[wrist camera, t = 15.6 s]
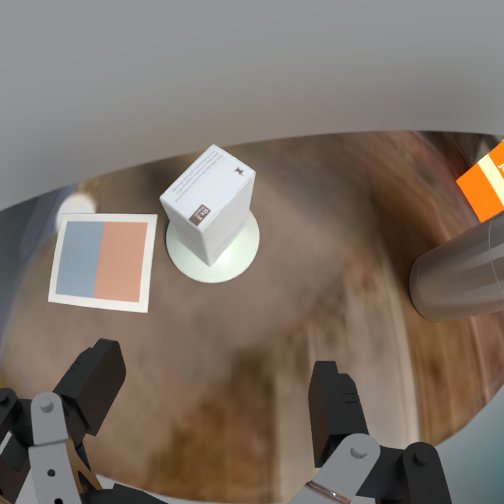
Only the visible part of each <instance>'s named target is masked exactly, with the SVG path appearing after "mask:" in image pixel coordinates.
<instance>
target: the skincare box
mask: <svg viewBox="0 0 504 504" xmlns="http://www.w3.org/2000/svg"><path fill="white" fill-rule="evenodd" d="M255 174H256V173H255V171H254V170H252V169H251V168H249V167H248V166H246V165H245V164H244V163H242V162H241V161H239V160H238V159H236V158H235V157H233V156H232V155H230V154H229V153H227V152H226V151H224V150H222V149H221V148H219V147H217V146H216V145H211V146H210V147H209V148H208V149H207V150H206V151H205V152H204V153H203V154H202V155H201V156H200V157H199V158H198V159H197V160H196V161H195V162H194V163H193V164H192V165H191V166H190V167H189V168H188V169H187V170H186V171H185V172H184V173H183V174H182V175H181V176H180V177H179V178H178V179H177V180H176V181H175V182H174V183H173V184H172V185H171V186H170V187H169V188H168V189H167V190H166V191H165V192H164V193H163V194H162V195H161V196H160V201H161V203H162V205H163V208H164V210H165V211H166V213H167V215H168V217H169V219H170V221H171V223H172V225H173V227H174V229H175V232H176V234H177V236H178V238H179V239H180V241H181V244H183V245H184V246H185V247H186V248H188V249H189V250H190V251H191V252H192V253H193V254H195V255H196V256H197V257H198V258H199V259H201V260H202V261H203V262H204V263H205V264H206V265H207V266H209V267H212V265H213V264H214V263H215V262H216V261H217V260H218V258H219V257H220V256H221V255H222V254H223V253H224V251H225V250H226V249H227V248H228V247H229V246H230V245H231V243H232V242H233V241H234V240H235V239H236V238H237V236H238V235H239V234H240V233H241V232H242V231H243V230H244V228H245V227H246V222H247V217H248V211H249V206H250V200H251V195H252V190H253V185H254V180H255Z"/></svg>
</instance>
